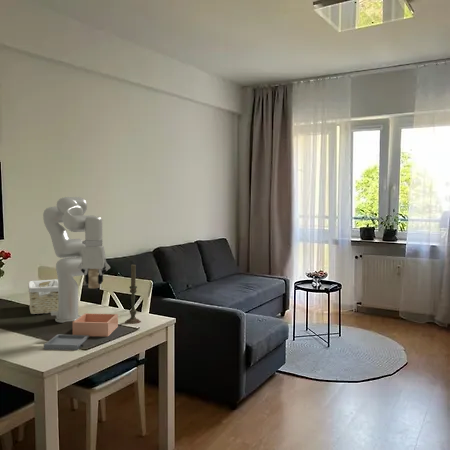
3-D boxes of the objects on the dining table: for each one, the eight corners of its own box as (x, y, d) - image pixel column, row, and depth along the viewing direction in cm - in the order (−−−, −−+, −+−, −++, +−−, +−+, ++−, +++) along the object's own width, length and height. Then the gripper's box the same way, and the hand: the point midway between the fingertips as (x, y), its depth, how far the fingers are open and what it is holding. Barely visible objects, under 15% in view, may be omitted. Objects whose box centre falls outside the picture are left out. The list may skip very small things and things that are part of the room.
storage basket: (28, 305, 269) (28, 280, 268) (58, 303, 275) (58, 278, 274) (28, 315, 247) (28, 287, 246) (61, 313, 253) (61, 286, 252)
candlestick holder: (133, 327, 227) (133, 265, 226) (119, 324, 232) (120, 263, 231) (146, 323, 235) (146, 263, 233) (132, 320, 240) (133, 261, 238)
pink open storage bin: (72, 337, 210) (72, 322, 209) (84, 327, 226) (84, 313, 225) (108, 338, 209) (108, 323, 209) (118, 328, 225) (117, 314, 225)
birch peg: (86, 288, 212) (86, 266, 212) (90, 286, 217) (90, 264, 217) (97, 288, 212) (97, 266, 212) (101, 286, 217) (101, 264, 217)
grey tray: (43, 349, 194) (43, 344, 194) (57, 338, 208) (57, 334, 208) (77, 349, 193) (77, 345, 193) (88, 339, 207) (88, 335, 207)
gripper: (72, 244, 210) (72, 284, 211) (110, 244, 210) (110, 285, 211) (78, 242, 218) (78, 281, 219) (114, 243, 217) (114, 282, 218)
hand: (94, 283), depth 215 cm, fingers closed on birch peg, 5 cm apart
